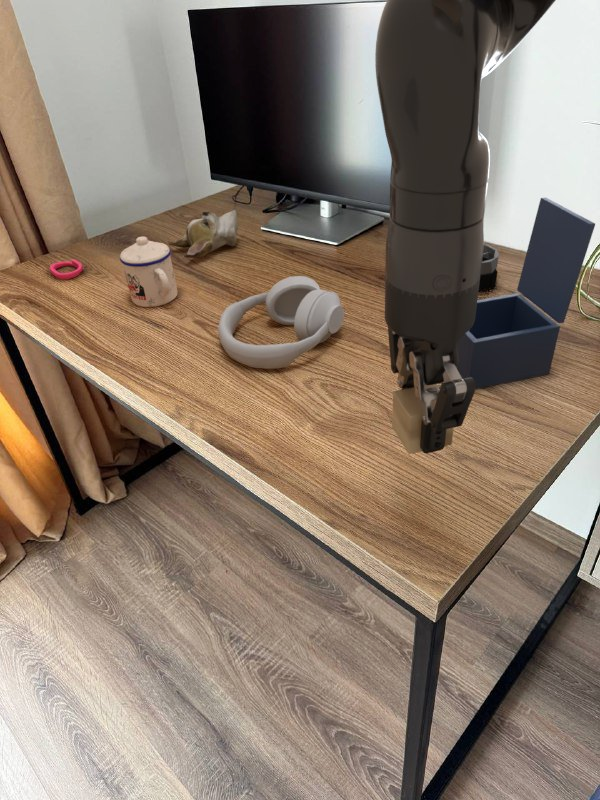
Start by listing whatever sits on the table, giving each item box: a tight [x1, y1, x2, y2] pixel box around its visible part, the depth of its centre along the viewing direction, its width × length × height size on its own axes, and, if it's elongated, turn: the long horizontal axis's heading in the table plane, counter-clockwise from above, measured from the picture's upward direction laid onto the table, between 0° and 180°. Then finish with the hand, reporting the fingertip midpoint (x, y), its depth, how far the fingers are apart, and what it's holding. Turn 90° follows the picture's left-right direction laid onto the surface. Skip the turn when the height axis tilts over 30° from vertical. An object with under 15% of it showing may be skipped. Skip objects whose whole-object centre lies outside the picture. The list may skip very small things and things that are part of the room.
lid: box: [516, 197, 596, 324], centre depth 79 cm, size 14×11×1 cm
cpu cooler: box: [478, 243, 500, 292], centre depth 107 cm, size 10×6×10 cm
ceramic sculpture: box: [167, 209, 239, 259], centre depth 125 cm, size 11×9×15 cm
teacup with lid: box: [119, 236, 178, 308], centre depth 107 cm, size 12×9×12 cm
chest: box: [457, 292, 561, 390], centre depth 84 cm, size 13×11×8 cm
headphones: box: [217, 275, 345, 370], centre depth 94 cm, size 18×8×20 cm
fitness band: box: [49, 258, 85, 281], centre depth 123 cm, size 8×6×2 cm
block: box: [391, 384, 454, 455], centre depth 56 cm, size 4×4×4 cm
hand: (421, 432), depth 57 cm, fingers closed on block, 4 cm apart
